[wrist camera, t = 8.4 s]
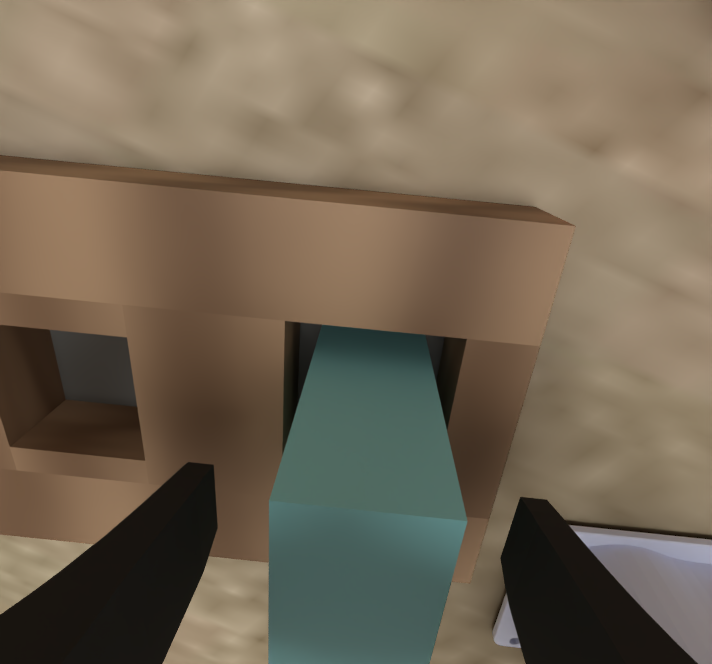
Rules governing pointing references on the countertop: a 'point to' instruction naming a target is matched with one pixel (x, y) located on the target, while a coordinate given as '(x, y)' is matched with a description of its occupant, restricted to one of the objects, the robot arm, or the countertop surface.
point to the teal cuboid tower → (363, 507)
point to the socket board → (240, 333)
